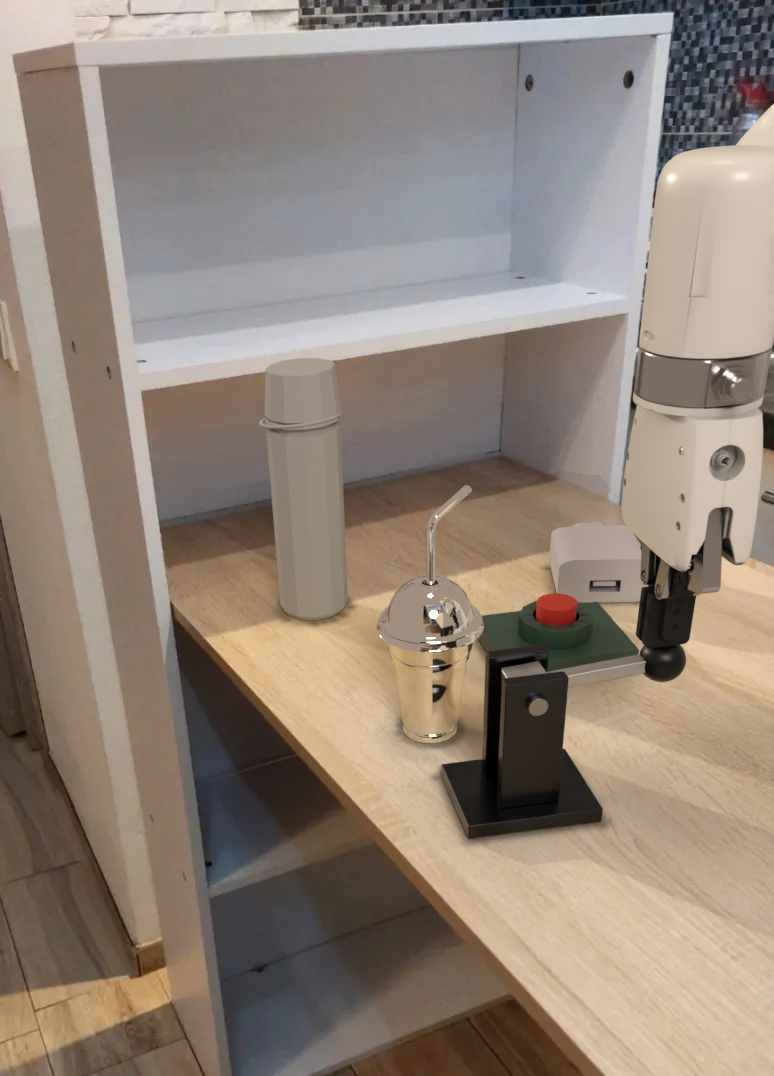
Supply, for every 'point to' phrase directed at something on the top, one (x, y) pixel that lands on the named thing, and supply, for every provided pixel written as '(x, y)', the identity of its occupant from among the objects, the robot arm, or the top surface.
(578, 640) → the green button base
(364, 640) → the top surface
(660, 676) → the tap lever
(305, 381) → the water bottle
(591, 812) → the black lever stand
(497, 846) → the top surface
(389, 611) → the cup with straw
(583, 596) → the charger
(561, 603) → the button
